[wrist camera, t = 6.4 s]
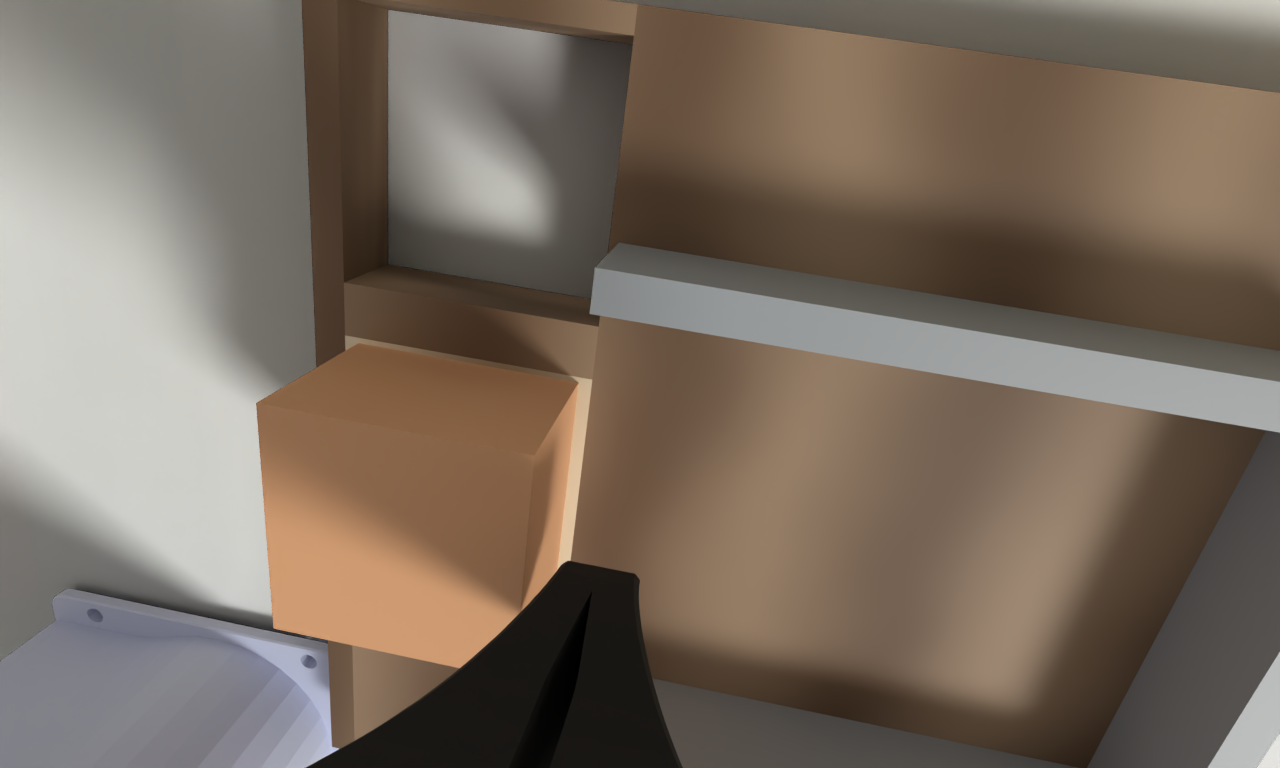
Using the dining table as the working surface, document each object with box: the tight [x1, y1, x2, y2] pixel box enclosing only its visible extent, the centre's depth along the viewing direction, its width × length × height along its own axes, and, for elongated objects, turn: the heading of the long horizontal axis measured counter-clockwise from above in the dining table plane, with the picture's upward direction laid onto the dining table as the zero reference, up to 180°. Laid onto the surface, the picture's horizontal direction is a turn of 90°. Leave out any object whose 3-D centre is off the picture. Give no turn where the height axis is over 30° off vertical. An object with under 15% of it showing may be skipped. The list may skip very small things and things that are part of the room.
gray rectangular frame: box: [590, 243, 1280, 768], centre depth 14 cm, size 14×12×2 cm
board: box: [302, 0, 1280, 768], centre depth 17 cm, size 20×20×2 cm
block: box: [256, 343, 579, 668], centre depth 14 cm, size 5×5×4 cm
